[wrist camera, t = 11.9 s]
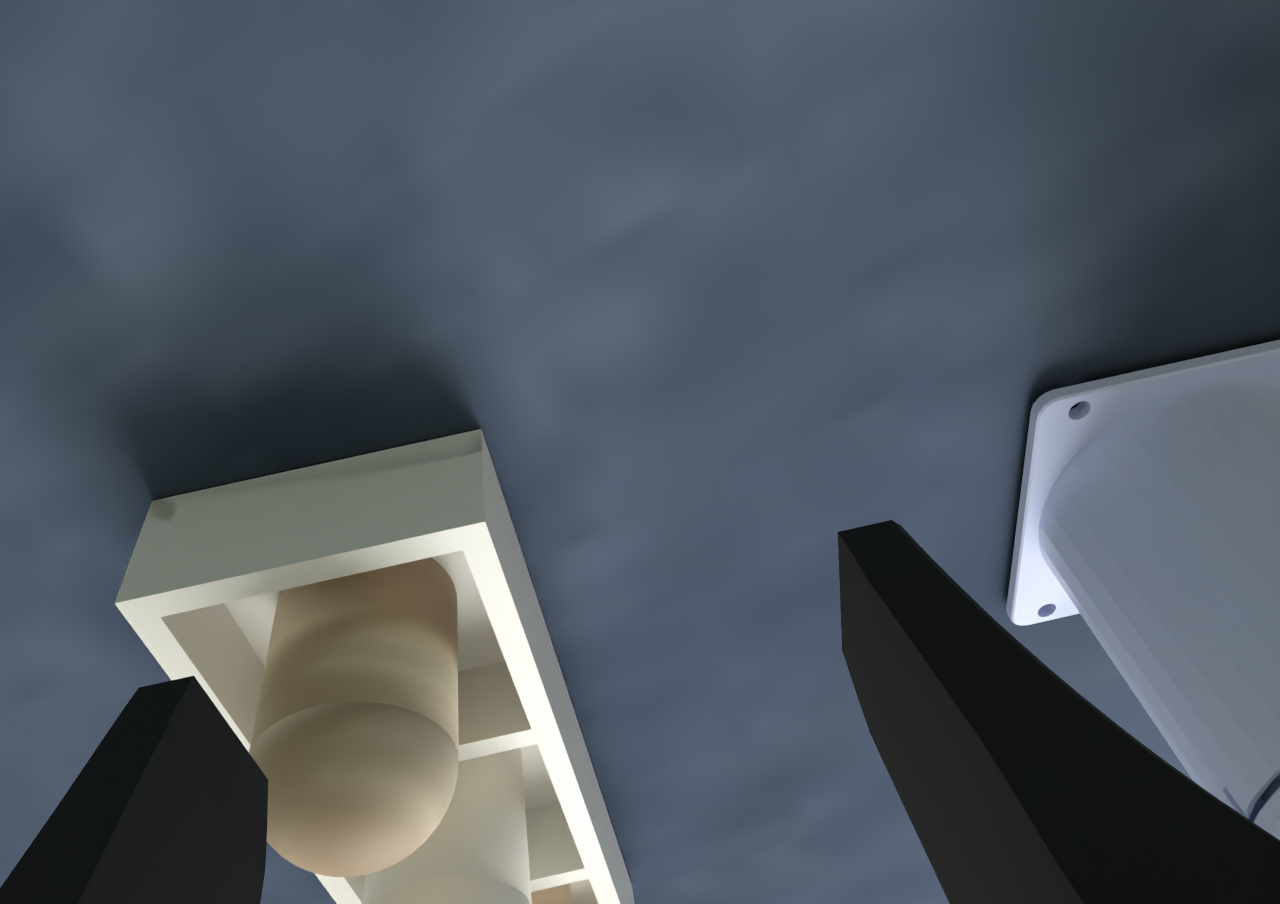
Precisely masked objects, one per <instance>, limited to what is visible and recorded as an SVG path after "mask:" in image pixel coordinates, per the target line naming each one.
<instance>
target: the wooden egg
mask: <svg viewBox="0 0 1280 904" xmlns="http://www.w3.org/2000/svg"><path fill="white" fill-rule="evenodd" d="M249 754H250V755H251V756H252V758H253V759H254V761H255V762H256V763H257V765H258V766H259V768H260V769H261V770H262V772H263V773H264V775H265V776H266V777H267V779H268V814H267V842H268V843H269V844H270V845H271V846H272V847H273V848H274V849H275V850H276V851H277V852H278V853H279V854H280V855H281V856H282V857H283V858H285V859H286V860H288V861H289V862H291V863H293V864H294V865H296V866H298V867H300V868H302V869H304V870H307V871H310V872H313V873H316V874H320V875H324V876H330V877H356V876H362V875H367V874H371V873H374V872H377V871H380V870H383V869H386V868H388V867H390V866H392V865H394V864H396V863H398V862H400V861H401V860H403V859H404V858H406V857H407V856H409V855H410V854H412V853H413V852H414V851H415V850H416V849H417V848H419V847H420V846H421V845H422V844H423V843H424V842H425V841H426V840H427V839H428V838H429V836H430V835H431V834H432V833H433V831H434V830H435V829H436V828H437V826H438V825H439V823H440V822H441V820H442V818H443V816H444V815H445V813H446V811H447V809H448V807H449V804H450V802H451V799H452V797H453V793H454V790H455V786H456V782H457V775H458V762H459V740H458V622H457V592H456V589H455V586H454V583H453V581H452V579H451V577H450V576H449V575H448V573H447V572H446V570H445V569H444V568H443V567H442V566H441V565H440V564H439V563H438V562H436V561H435V560H434V559H432V558H431V557H430V558H425V559H421V560H416V561H412V562H407V563H403V564H398V565H394V566H389V567H385V568H380V569H376V570H371V571H367V572H362V573H357V574H353V575H348V576H344V577H339V578H335V579H330V580H326V581H321V582H317V583H312V584H308V585H303V586H299V587H294V588H290V589H285V590H281V591H279V595H278V600H277V605H276V611H275V616H274V621H273V627H272V632H271V637H270V643H269V648H268V653H267V659H266V664H265V669H264V675H263V680H262V685H261V691H260V696H259V701H258V707H257V712H256V717H255V723H254V728H253V733H252V739H251V744H250V749H249Z"/></svg>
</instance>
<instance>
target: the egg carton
mask: <svg viewBox="0 0 1280 904" xmlns="http://www.w3.org/2000/svg"><path fill="white" fill-rule="evenodd" d="M430 557H431V558H432V559H434V560H435V561H436V562H438V563H439V564H440V565H441V566H442V567H443V568H444V569H445V570H446V572H447V573H448V575H449V576H450V577H451V579H452V581H453V583H454V586H455V589H456V592H457V622H458V740H459V762H458V775H457V782H456V786H455V790H454V793H453V797H452V799H451V802H450V804H449V807H448V809H447V811H446V813H445V815H444V816H443V818H442V820H441V822H440V823H439V825H438V826H437V828H436V829H435V830H434V831H433V833H432V834H431V835H430V836H429V838H428V839H427V840H426V841H425V842H424V843H423V844H422V845H421V846H420V847H419V848H417V849H416V850H415V851H414V852H413V853H412V854H410V855H409V856H407V857H406V858H404V859H403V860H401V861H400V862H398V863H396V864H394V865H392V866H390V867H388V868H386V869H383V870H380V871H377V872H374V873H371V874H367V875H362V876H356V877H330V876H324V875H320V874H316V873H315V875H316V876H317V877H318V879H319V880H320V881H321V883H322V884H323V886H324V887H325V888H326V890H327V891H328V892H329V894H330V895H331V896H332V898H333V899H334V900H335V902H336V903H337V904H634V897H633V890H632V885H631V882H630V879H629V876H628V873H627V870H626V866H625V863H624V860H623V857H622V854H621V851H620V848H619V845H618V842H617V839H616V836H615V833H614V830H613V827H612V824H611V821H610V818H609V815H608V812H607V809H606V806H605V803H604V800H603V797H602V794H601V791H600V788H599V785H598V782H597V779H596V775H595V772H594V769H593V766H592V763H591V760H590V757H589V754H588V751H587V748H586V745H585V742H584V739H583V736H582V733H581V730H580V727H579V724H578V721H577V718H576V715H575V712H574V709H573V706H572V703H571V700H570V697H569V694H568V691H567V688H566V684H565V681H564V678H563V675H562V672H561V669H560V666H559V663H558V660H557V657H556V654H555V651H554V648H553V645H552V642H551V639H550V636H549V633H548V630H547V627H546V624H545V621H544V618H543V615H542V612H541V609H540V606H539V603H538V600H537V596H536V593H535V590H534V587H533V584H532V581H531V578H530V575H529V572H528V569H527V566H526V563H525V560H524V557H523V554H522V551H521V548H520V545H519V542H518V539H517V536H516V533H515V530H514V527H513V524H512V521H511V518H510V515H509V512H508V509H507V505H506V502H505V499H504V496H503V493H502V490H501V487H500V484H499V481H498V478H497V475H496V472H495V469H494V466H493V463H492V460H491V457H490V454H489V451H488V448H487V445H486V442H485V439H484V436H483V433H482V430H481V429H478V430H474V431H469V432H465V433H460V434H455V435H451V436H446V437H442V438H437V439H433V440H428V441H423V442H419V443H414V444H410V445H405V446H401V447H396V448H391V449H387V450H382V451H378V452H373V453H369V454H364V455H359V456H355V457H350V458H346V459H341V460H337V461H332V462H327V463H323V464H318V465H314V466H309V467H305V468H300V469H295V470H291V471H286V472H282V473H277V474H273V475H268V476H263V477H259V478H254V479H250V480H245V481H241V482H236V483H231V484H227V485H222V486H218V487H213V488H209V489H204V490H199V491H195V492H190V493H186V494H181V495H177V496H172V497H167V498H163V499H158V500H154V501H152V502H151V505H150V507H149V510H148V513H147V516H146V518H145V521H144V524H143V527H142V529H141V532H140V535H139V538H138V540H137V543H136V546H135V549H134V551H133V554H132V557H131V560H130V562H129V565H128V568H127V571H126V573H125V576H124V579H123V582H122V584H121V587H120V590H119V593H118V595H117V598H116V601H115V605H116V606H117V607H118V609H119V610H120V611H121V613H122V614H123V615H124V617H125V618H126V619H127V621H128V622H129V624H130V625H131V626H132V628H133V629H134V630H135V632H136V633H137V634H138V636H139V637H140V638H141V640H142V641H143V642H144V644H145V645H146V646H147V648H148V649H149V651H150V652H151V653H152V655H153V656H154V657H155V659H156V660H157V661H158V663H159V664H160V665H161V667H162V668H163V669H164V671H165V672H166V673H167V675H168V676H169V678H170V679H171V680H176V679H181V678H185V677H190V676H195V678H196V679H197V681H198V682H199V683H200V685H201V686H202V688H203V689H204V690H205V692H206V693H207V695H208V696H209V697H210V699H211V700H212V702H213V703H214V704H215V706H216V707H217V709H218V710H219V711H220V713H221V714H222V716H223V717H224V718H225V720H226V721H227V723H228V724H229V726H230V727H231V728H232V730H233V731H234V733H235V734H236V735H237V737H238V738H239V740H240V741H241V742H242V744H243V745H244V747H245V748H246V749H247V751H248V752H249V749H250V744H251V739H252V733H253V728H254V723H255V717H256V712H257V707H258V701H259V696H260V691H261V685H262V680H263V675H264V669H265V664H266V659H267V653H268V648H269V643H270V637H271V632H272V627H273V621H274V616H275V611H276V605H277V600H278V595H279V591H281V590H285V589H290V588H294V587H299V586H303V585H308V584H312V583H317V582H321V581H326V580H330V579H335V578H339V577H344V576H348V575H353V574H357V573H362V572H367V571H371V570H376V569H380V568H385V567H389V566H394V565H398V564H403V563H407V562H412V561H416V560H421V559H425V558H430Z"/></svg>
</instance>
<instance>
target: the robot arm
mask: <svg viewBox="0 0 1280 904" xmlns="http://www.w3.org/2000/svg"><path fill="white" fill-rule="evenodd" d="M1079 402H1080V404H1079V405H1078V406H1076V407H1075V408H1073V409H1071V410H1070V408H1071V407H1072V406H1074V405H1075V404H1076V403H1079ZM838 547H839V574H840V601H841V628H842V651H843V654H844V657H845V660H846V663H847V666H848V669H849V672H850V675H851V678H852V681H853V684H854V687H855V690H856V693H857V696H858V699H859V702H860V705H861V708H862V711H863V713H864V716H865V719H866V722H867V725H868V728H869V731H870V733H871V736H872V738H873V740H874V742H875V744H876V747H877V749H878V751H879V753H880V755H881V758H882V760H883V762H884V764H885V766H886V768H887V770H888V773H889V775H890V777H891V779H892V781H893V783H894V786H895V788H896V790H897V792H898V794H899V796H900V799H901V801H902V803H903V805H904V807H905V809H906V811H907V813H908V816H909V818H910V820H911V822H912V824H913V826H914V828H915V830H916V833H917V835H918V837H919V839H920V841H921V843H922V845H923V848H924V850H925V852H926V854H927V856H928V858H929V860H930V862H931V865H932V867H933V869H934V871H935V873H936V875H937V877H938V879H939V882H940V884H941V886H942V888H943V890H944V892H945V894H946V897H947V899H948V901H949V903H950V904H1280V340H1276V341H1271V342H1267V343H1262V344H1258V345H1253V346H1249V347H1244V348H1240V349H1235V350H1231V351H1226V352H1221V353H1217V354H1212V355H1208V356H1203V357H1199V358H1194V359H1190V360H1185V361H1181V362H1176V363H1172V364H1167V365H1163V366H1158V367H1153V368H1149V369H1144V370H1140V371H1135V372H1131V373H1126V374H1122V375H1117V376H1113V377H1108V378H1104V379H1099V380H1095V381H1090V382H1086V383H1081V384H1076V385H1072V386H1067V387H1063V388H1058V389H1054V390H1051V391H1049V392H1046V393H1044V394H1043V395H1041V396H1040V397H1039V398H1038V399H1037V400H1036V401H1035V403H1034V404H1033V406H1032V409H1031V413H1030V421H1029V429H1028V437H1027V445H1026V454H1025V462H1024V470H1023V478H1022V486H1021V494H1020V502H1019V510H1018V518H1017V526H1016V534H1015V543H1014V551H1013V559H1012V567H1011V575H1010V583H1009V591H1008V599H1007V607H1006V610H1007V614H1008V616H1009V617H1010V619H1011V621H1012V622H1013V623H1014V624H1016V625H1021V626H1022V625H1030V624H1034V623H1039V622H1043V621H1048V620H1052V619H1057V618H1061V617H1065V616H1070V615H1074V614H1079V613H1080V614H1081V616H1082V617H1083V619H1084V620H1085V621H1086V623H1087V624H1088V626H1089V627H1090V629H1091V630H1092V632H1093V633H1094V635H1095V636H1096V638H1097V639H1098V641H1099V642H1100V644H1101V645H1102V647H1103V648H1104V650H1105V651H1106V652H1107V654H1108V655H1109V657H1110V658H1111V660H1112V661H1113V663H1114V664H1115V666H1116V667H1117V669H1118V670H1119V672H1120V673H1121V675H1122V676H1123V678H1124V679H1125V681H1126V682H1127V684H1128V685H1129V686H1130V688H1131V689H1132V691H1133V692H1134V694H1135V695H1136V697H1137V698H1138V700H1139V701H1140V703H1141V704H1142V706H1143V707H1144V709H1145V710H1146V712H1147V713H1148V715H1149V716H1150V717H1151V719H1152V720H1153V722H1154V723H1155V725H1156V726H1157V728H1158V729H1159V731H1160V732H1161V734H1162V735H1163V737H1164V738H1165V740H1166V741H1167V743H1168V744H1169V746H1170V747H1171V748H1172V750H1173V751H1174V753H1175V754H1176V756H1177V757H1178V759H1179V760H1180V762H1181V763H1182V765H1183V766H1184V768H1185V769H1186V771H1187V772H1188V774H1189V775H1190V777H1191V778H1192V779H1193V781H1192V780H1191V779H1189V778H1188V777H1187V776H1185V775H1184V774H1182V773H1181V772H1180V771H1178V770H1177V769H1175V768H1174V767H1172V766H1171V765H1170V764H1168V763H1167V762H1166V761H1164V760H1163V759H1162V758H1160V757H1159V756H1158V755H1156V754H1155V753H1154V752H1152V751H1151V750H1150V749H1148V748H1147V747H1146V746H1144V745H1143V744H1142V743H1140V742H1139V741H1138V740H1136V739H1135V738H1134V737H1133V736H1131V735H1130V734H1129V733H1127V732H1126V731H1125V730H1123V729H1122V728H1121V727H1120V726H1118V725H1117V724H1116V723H1115V722H1113V721H1112V720H1111V719H1110V718H1108V717H1107V716H1106V715H1105V714H1103V713H1102V712H1101V711H1100V710H1098V709H1097V708H1096V707H1095V706H1093V705H1092V704H1091V703H1090V702H1088V701H1087V700H1086V699H1085V698H1084V697H1082V696H1081V695H1080V694H1079V693H1077V692H1076V691H1075V690H1074V689H1073V688H1071V687H1070V686H1069V685H1068V684H1067V683H1065V682H1064V681H1063V680H1062V679H1061V678H1060V677H1058V676H1057V675H1056V674H1055V673H1054V672H1052V671H1051V670H1050V669H1049V668H1048V667H1047V666H1046V665H1044V664H1043V663H1042V662H1041V661H1040V660H1039V659H1038V658H1037V657H1035V656H1034V655H1033V654H1032V653H1031V652H1030V651H1029V650H1028V649H1027V648H1025V647H1024V646H1023V645H1022V644H1021V643H1020V642H1019V641H1018V640H1016V639H1015V638H1014V637H1013V636H1012V635H1011V634H1010V633H1009V632H1007V631H1006V630H1005V629H1004V628H1003V627H1002V626H1001V625H1000V624H999V623H998V622H996V621H995V620H994V619H993V618H992V617H991V616H990V615H989V614H988V613H987V612H986V611H985V610H984V609H983V608H982V607H980V606H979V605H978V604H977V603H976V602H975V601H974V600H973V599H972V598H971V597H970V596H969V595H968V594H967V593H966V592H965V591H964V590H963V589H962V588H961V587H960V586H959V585H958V584H957V583H956V582H955V581H954V580H953V579H952V578H951V577H950V576H949V575H948V574H947V573H946V572H945V571H944V570H943V569H942V568H941V567H940V566H939V565H938V564H937V563H936V562H935V561H934V560H933V559H932V558H931V557H930V556H929V555H928V554H927V553H926V552H925V551H924V550H923V549H922V548H921V547H920V546H919V544H918V543H917V542H916V541H915V540H914V539H913V538H912V537H911V536H910V535H909V534H908V533H907V532H906V531H905V529H904V528H903V527H902V526H901V525H899V524H897V523H896V522H894V521H892V520H890V521H885V522H881V523H876V524H872V525H868V526H863V527H859V528H854V529H850V530H845V531H841V532H838ZM267 814H268V779H267V777H266V776H265V775H264V773H263V772H262V770H261V769H260V768H259V766H258V765H257V763H256V762H255V761H254V759H253V758H252V756H251V755H250V754H249V752H248V751H247V749H246V748H245V747H244V745H243V744H242V742H241V741H240V740H239V738H238V737H237V735H236V734H235V733H234V731H233V730H232V728H231V727H230V726H229V724H228V723H227V721H226V720H225V718H224V717H223V716H222V714H221V713H220V711H219V710H218V709H217V707H216V706H215V704H214V703H213V702H212V700H211V699H210V697H209V696H208V695H207V693H206V692H205V690H204V689H203V688H202V686H201V685H200V683H199V682H198V681H197V679H196V678H195V676H190V677H185V678H181V679H176V680H172V681H167V682H163V683H158V684H154V685H149V686H145V687H140V688H138V690H137V691H136V693H135V694H134V695H133V697H132V698H131V700H130V701H129V702H128V704H127V705H126V707H125V708H124V709H123V711H122V712H121V714H120V715H119V717H118V718H117V719H116V721H115V722H114V724H113V725H112V727H111V728H110V730H109V731H108V733H107V734H106V736H105V737H104V739H103V740H102V741H101V743H100V744H99V746H98V747H97V749H96V750H95V752H94V753H93V755H92V756H91V758H90V759H89V761H88V762H87V764H86V765H85V767H84V768H83V770H82V771H81V773H80V774H79V776H78V777H77V778H76V780H75V781H74V783H73V784H72V786H71V787H70V789H69V790H68V792H67V793H66V795H65V796H64V798H63V799H62V801H61V802H60V803H59V805H58V806H57V808H56V809H55V811H54V812H53V814H52V815H51V816H50V818H49V819H48V821H47V822H46V824H45V825H44V826H43V828H42V829H41V831H40V832H39V834H38V835H37V836H36V838H35V839H34V841H33V842H32V844H31V845H30V846H29V848H28V849H27V851H26V852H25V854H24V855H23V857H22V858H21V859H20V861H19V862H18V864H17V865H16V867H15V868H14V869H13V871H12V872H11V874H10V875H9V877H8V878H7V879H6V881H5V882H4V884H3V885H2V886H1V888H0V904H260V900H261V894H262V887H263V880H264V874H265V860H266V842H267Z"/></svg>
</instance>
